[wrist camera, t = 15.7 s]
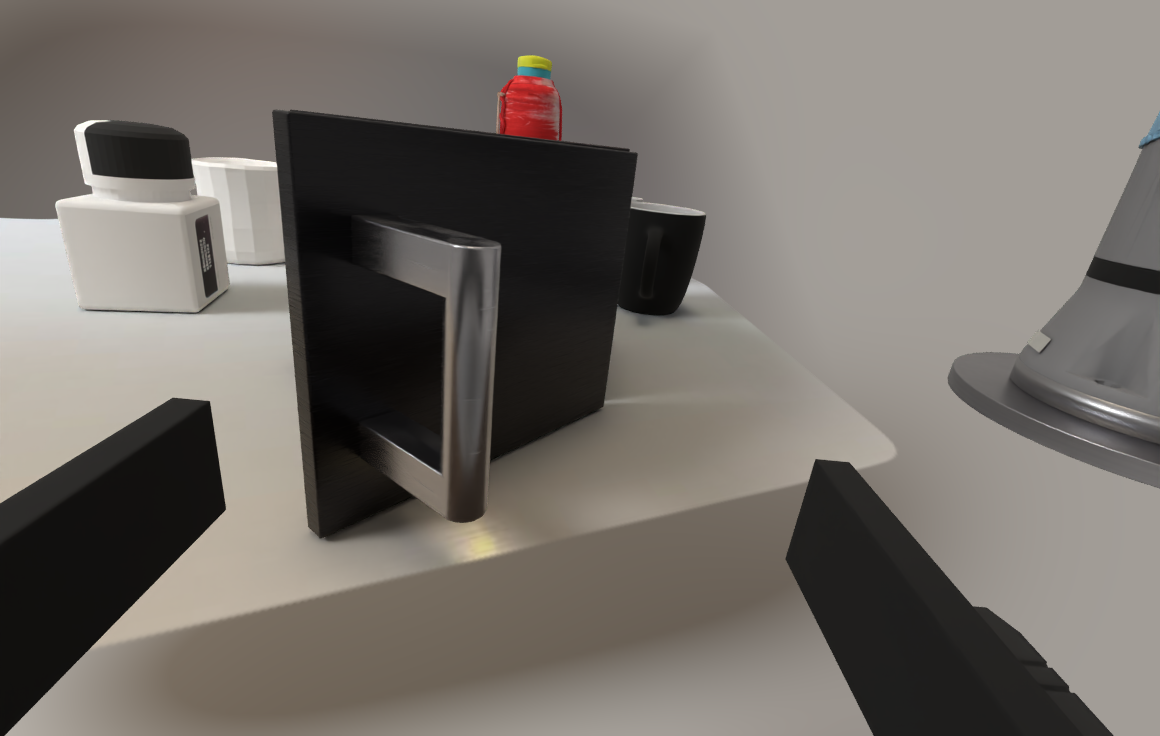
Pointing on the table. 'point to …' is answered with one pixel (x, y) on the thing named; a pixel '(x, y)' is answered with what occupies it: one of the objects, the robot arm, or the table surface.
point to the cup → (245, 206)
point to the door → (441, 303)
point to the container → (141, 223)
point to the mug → (659, 257)
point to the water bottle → (530, 102)
